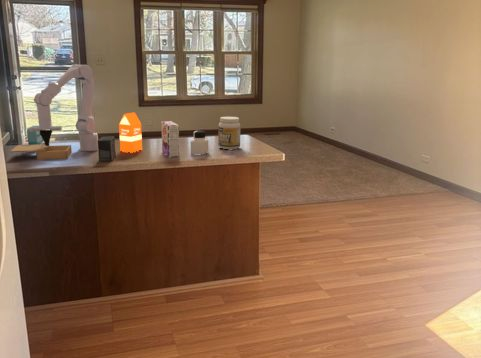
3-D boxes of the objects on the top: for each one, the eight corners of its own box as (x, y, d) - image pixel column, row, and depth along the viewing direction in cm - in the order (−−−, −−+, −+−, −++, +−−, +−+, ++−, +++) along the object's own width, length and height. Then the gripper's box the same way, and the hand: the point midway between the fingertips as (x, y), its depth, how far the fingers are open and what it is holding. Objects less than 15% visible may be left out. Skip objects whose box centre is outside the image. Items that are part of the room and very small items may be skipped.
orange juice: (142, 150, 242) (140, 112, 237) (132, 153, 235) (130, 114, 229) (130, 148, 245) (128, 111, 240) (120, 151, 238) (117, 113, 232)
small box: (102, 156, 226) (101, 136, 223) (116, 156, 226) (114, 136, 223) (98, 161, 215) (96, 140, 213) (112, 161, 216) (110, 140, 213)
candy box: (161, 152, 238) (160, 121, 233) (172, 151, 240) (171, 120, 235) (168, 157, 225) (167, 125, 221) (179, 157, 228) (179, 124, 223)
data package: (38, 151, 234) (35, 128, 231) (28, 151, 234) (26, 128, 230) (44, 147, 246) (42, 125, 242) (36, 147, 245) (33, 125, 242)
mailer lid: (49, 145, 230) (48, 139, 229) (43, 151, 216) (42, 145, 216) (18, 146, 227) (17, 140, 226) (10, 152, 213) (9, 146, 213)
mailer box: (71, 152, 233) (71, 145, 232) (67, 158, 220) (66, 150, 219) (42, 153, 230) (42, 145, 229) (36, 159, 217) (35, 151, 216)
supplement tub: (214, 149, 247) (214, 118, 243) (223, 145, 258) (223, 115, 254) (235, 151, 243) (235, 119, 238) (243, 147, 254) (244, 117, 249)
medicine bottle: (208, 152, 238) (208, 130, 235) (203, 155, 231) (202, 132, 228) (196, 151, 240) (195, 129, 237) (190, 154, 234) (190, 131, 230)
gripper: (26, 119, 214) (29, 147, 218) (58, 119, 217) (61, 146, 221) (30, 117, 221) (33, 144, 224) (61, 117, 224) (63, 143, 227)
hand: (47, 145), depth 223 cm, fingers closed
